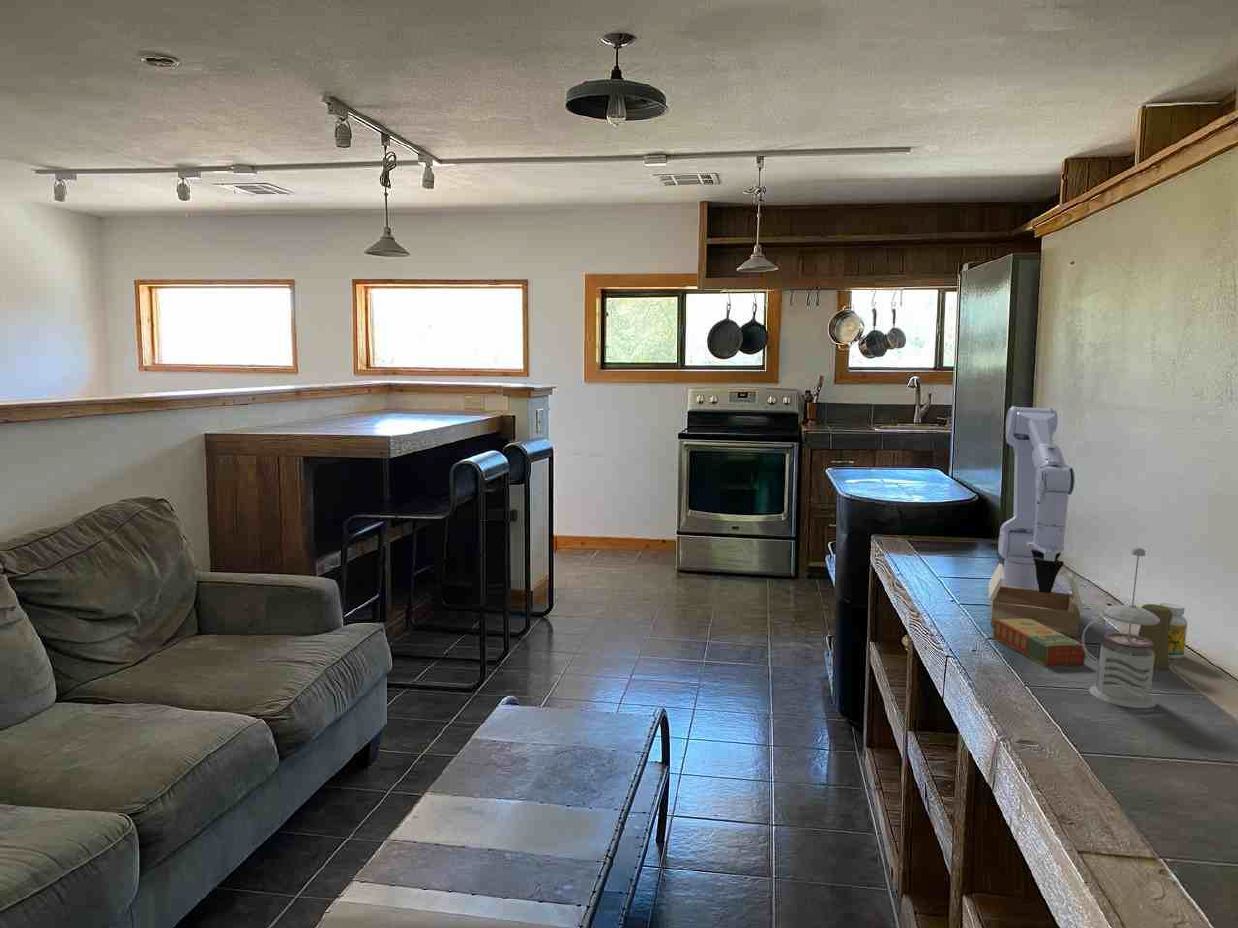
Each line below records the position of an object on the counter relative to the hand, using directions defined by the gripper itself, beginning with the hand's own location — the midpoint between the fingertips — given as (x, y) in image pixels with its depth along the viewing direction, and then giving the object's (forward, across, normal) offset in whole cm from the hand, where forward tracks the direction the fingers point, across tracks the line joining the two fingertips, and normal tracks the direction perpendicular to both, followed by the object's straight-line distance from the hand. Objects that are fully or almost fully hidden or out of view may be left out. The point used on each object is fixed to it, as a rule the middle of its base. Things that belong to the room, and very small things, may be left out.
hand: (1043, 588), depth 188 cm
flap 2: (0, 0, +5) cm, 5 cm away
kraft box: (+7, 0, -2) cm, 8 cm away
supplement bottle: (+8, +11, +21) cm, 25 cm away
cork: (+8, +19, +17) cm, 27 cm away
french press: (+8, +40, +10) cm, 42 cm away
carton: (+8, +21, -2) cm, 22 cm away
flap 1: (0, 0, -9) cm, 9 cm away
